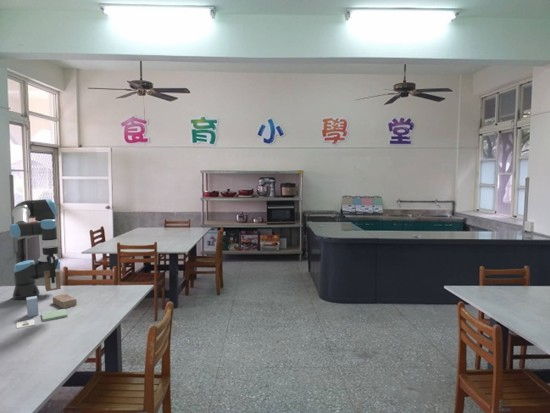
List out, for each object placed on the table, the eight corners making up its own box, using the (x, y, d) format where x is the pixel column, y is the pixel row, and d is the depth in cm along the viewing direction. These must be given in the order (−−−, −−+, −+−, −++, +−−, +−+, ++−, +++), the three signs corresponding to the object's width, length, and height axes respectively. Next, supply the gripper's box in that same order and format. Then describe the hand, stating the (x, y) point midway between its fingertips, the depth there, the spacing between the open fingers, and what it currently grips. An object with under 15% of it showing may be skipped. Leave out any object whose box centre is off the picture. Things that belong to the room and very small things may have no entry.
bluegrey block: (27, 314, 225) (26, 297, 224) (38, 312, 228) (36, 295, 227) (27, 317, 220) (26, 299, 220) (38, 315, 223) (37, 298, 222)
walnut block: (45, 288, 221) (44, 271, 220) (59, 286, 225) (58, 269, 224) (46, 291, 215) (45, 273, 214) (60, 289, 219) (59, 271, 218)
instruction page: (16, 322, 212) (16, 322, 212) (33, 319, 217) (33, 318, 217) (16, 328, 204) (16, 328, 204) (34, 324, 208) (34, 324, 208)
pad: (41, 315, 223) (41, 313, 223) (65, 310, 230) (64, 308, 230) (42, 321, 213) (42, 319, 213) (67, 316, 220) (67, 314, 220)
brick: (77, 305, 240) (77, 297, 239) (63, 309, 233) (62, 301, 233) (66, 300, 250) (65, 293, 250) (52, 303, 244) (51, 296, 244)
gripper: (41, 245, 224) (43, 284, 226) (43, 250, 208) (46, 292, 210) (55, 243, 228) (58, 281, 230) (59, 248, 212) (62, 289, 214)
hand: (52, 286), depth 220 cm, fingers closed on walnut block, 7 cm apart
